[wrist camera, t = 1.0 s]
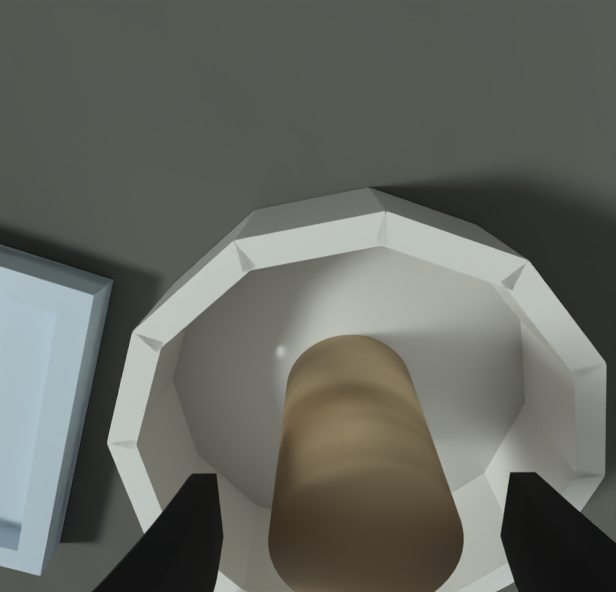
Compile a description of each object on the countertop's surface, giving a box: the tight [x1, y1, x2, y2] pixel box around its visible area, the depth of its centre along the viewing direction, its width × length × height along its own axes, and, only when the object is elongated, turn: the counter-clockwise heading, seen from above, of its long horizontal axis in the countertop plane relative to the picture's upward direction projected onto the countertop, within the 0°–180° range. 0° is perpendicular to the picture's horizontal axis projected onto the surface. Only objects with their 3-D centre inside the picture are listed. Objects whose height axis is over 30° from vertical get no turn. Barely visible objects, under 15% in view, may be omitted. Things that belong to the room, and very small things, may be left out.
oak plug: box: [268, 335, 464, 592], centre depth 14 cm, size 4×4×6 cm
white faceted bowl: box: [107, 187, 606, 592], centre depth 15 cm, size 14×14×4 cm
